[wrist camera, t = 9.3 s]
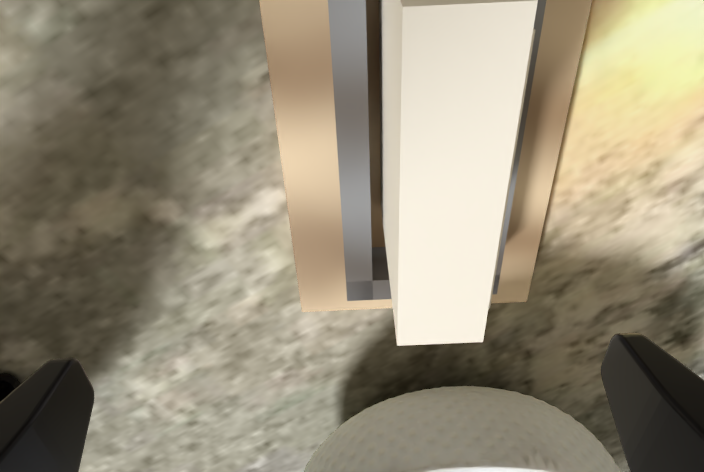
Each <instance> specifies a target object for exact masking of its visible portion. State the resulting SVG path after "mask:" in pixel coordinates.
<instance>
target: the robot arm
mask: <svg viewBox="0 0 704 472" xmlns="http://www.w3.org/2000/svg"><path fill="white" fill-rule="evenodd" d="M601 376H602V381H603V384H604V387H605V391H606V394H607V397H608V401H609V404H610V407H611V411H612V414H613V417H614V421H615V424H616V427H617V431H618V434H619V437H620V441H621V444H622V447H623V451H624V454H625V457H626V460H627V463H628V466H629V468H630V471H631V472H704V380H703V379H702V378H700V377H699V376H698V375H696V374H695V373H694V372H692V371H691V370H690V369H688V368H687V367H686V366H684V365H683V364H682V363H680V362H679V361H678V360H676V359H675V358H674V357H672V356H671V355H670V354H668V353H667V352H666V351H664V350H663V349H662V348H660V347H659V346H658V345H656V344H655V343H654V342H652V341H651V340H649V339H648V338H647V337H645V336H644V335H642V334H640V333H619V334H615V335H614V336H613V337H612V339H611V341H610V344H609V346H608V349H607V352H606V354H605V357H604V360H603V362H602V366H601ZM93 403H94V390H93V387H92V384H91V382H90V381H89V379H88V377H87V375H86V373H85V371H84V369H83V367H82V365H81V363H80V361H79V360H77V359H76V358H58V359H52V360H50V361H48V362H46V363H45V364H44V365H43V366H42V367H40V368H39V369H38V370H37V371H36V372H35V373H33V374H32V375H31V376H30V377H29V378H28V379H26V380H25V381H24V382H23V383H22V384H21V385H20V384H19V382H18V381H17V379H16V378H15V377H13V376H12V375H9V374H0V472H78V471H79V467H80V462H81V458H82V453H83V449H84V444H85V440H86V435H87V431H88V426H89V422H90V417H91V412H92V408H93Z"/></svg>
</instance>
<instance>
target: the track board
mask: <svg viewBox="0 0 704 472" xmlns="http://www.w3.org/2000/svg"><path fill="white" fill-rule="evenodd" d="M259 3H260V10H261V17H262V25H263V32H264V39H265V47H266V54H267V61H268V68H269V76H270V83H271V90H272V97H273V105H274V112H275V119H276V127H277V134H278V141H279V148H280V156H281V163H282V170H283V178H284V185H285V192H286V199H287V207H288V214H289V221H290V228H291V236H292V243H293V250H294V258H295V265H296V272H297V279H298V287H299V294H300V301H301V308H302V312H314V311H336V310H358V309H380V308H393V307H392V298H391V289H390V281H389V272H388V263H387V255H386V246H385V238H384V229H383V220H382V212H381V177H380V61H379V0H259ZM591 4H592V0H538V3H537V9H536V15H535V21H534V29H535V36H534V42H533V48H532V54H531V60H530V66H529V73H528V79H527V85H526V91H525V97H524V103H523V109H522V116H521V122H520V128H519V134H518V140H517V146H516V152H515V158H514V165H513V171H512V177H511V183H510V189H509V195H508V201H507V207H506V214H505V220H504V226H503V232H502V238H501V244H500V250H499V257H498V263H497V269H496V275H495V281H494V287H493V293H492V299H491V303H512V302H527V298H528V294H529V289H530V284H531V280H532V275H533V271H534V266H535V261H536V257H537V252H538V248H539V243H540V238H541V234H542V229H543V225H544V220H545V215H546V211H547V206H548V202H549V197H550V192H551V188H552V183H553V178H554V174H555V169H556V165H557V160H558V155H559V151H560V146H561V142H562V137H563V132H564V128H565V123H566V119H567V114H568V109H569V105H570V100H571V96H572V91H573V86H574V82H575V77H576V73H577V68H578V63H579V59H580V54H581V50H582V45H583V40H584V36H585V31H586V27H587V22H588V17H589V13H590V8H591Z"/></svg>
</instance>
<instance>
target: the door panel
mask: <svg viewBox="0 0 704 472" xmlns="http://www.w3.org/2000/svg"><path fill="white" fill-rule="evenodd" d="M537 3H538V0H379V61H380V177H381V212H382V220H383V229H384V238H385V246H386V255H387V263H388V272H389V281H390V289H391V298H392V307H393V315H394V324H395V333H396V341H397V346H404V345H427V344H450V343H472V342H483V339H484V333H485V327H486V320H487V314H488V308H490V306H491V299H492V293H493V287H494V281H495V275H496V269H497V263H498V257H499V250H500V244H501V238H502V232H503V226H504V220H505V214H506V207H507V201H508V195H509V189H510V183H511V177H512V171H513V165H514V158H515V152H516V146H517V140H518V134H519V128H520V122H521V116H522V109H523V103H524V97H525V91H526V85H527V79H528V73H529V66H530V60H531V54H532V48H533V42H534V36H535V29H534V21H535V15H536V9H537Z"/></svg>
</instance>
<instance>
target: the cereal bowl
mask: <svg viewBox="0 0 704 472" xmlns="http://www.w3.org/2000/svg"><path fill="white" fill-rule="evenodd" d="M304 472H621V470H620V468H619V467H618V466H617V465H616V464H615V462H614V460H613V458H612V456H611V455H610V454H609V453H608V452H607V451H606V450H605V448H604V446H603V445H602V443H601V442H600V441H599V440H597V439H596V437H595V436H594V435H593V434H592V433H591V432H590V431H588V430H587V429H586V428H585V427H584V425H583V424H581V423H579V422H577V421H576V420H575V419H574V418H573V417H572V416H571V415H569V414H566V413H564V412H562V411H561V410H559V409H558V408H557V407H555V406H552V405H549V404H548V403H546V402H544V401H542V400H539V399H536V398H534V397H533V396H529V395H523V394H521V393H519V392H515V391H507V390H504V389H495V388H490V387H476V386H456V387H451V386H450V387H440V388H432V389H424V390H421V391H415V392H412V393H405V394H403V395H400V396H396V397H395V398H389V399H387V400H385V401H382V402H379V403H378V404H374V405H373V406H371V407H369V408H366V409H364V410H363V411H361V412H360V413H358V414H357V415H355V416H353V417H351V418H350V419H349V420H347V421H346V422H344V423H343V424H342V425H340V426H339V427H338V428H337V429H336V430H335V431H334V432H333V433H332V434H330V436H329V437H328V438H327V439H326V441H324V442H323V443H322V444H321V445H320V447H319V448H318V450H317V451H316V452H315V453H314V454H313V456H312V458H311V459H310V461H309V462H308V464H307V465H306V468H305V470H304Z"/></svg>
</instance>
